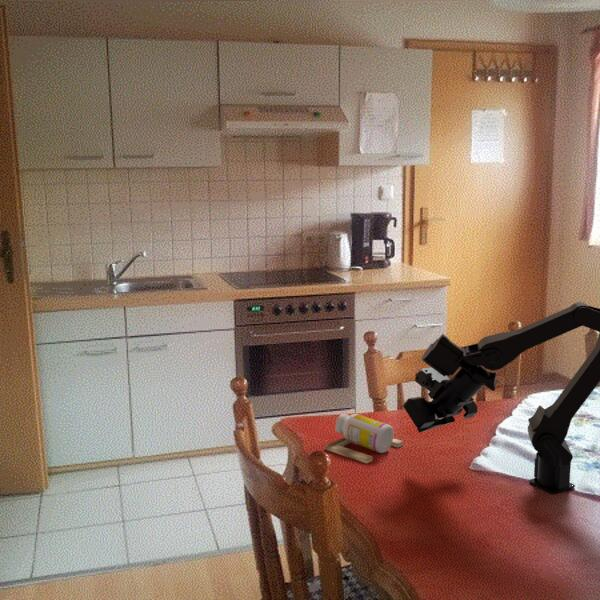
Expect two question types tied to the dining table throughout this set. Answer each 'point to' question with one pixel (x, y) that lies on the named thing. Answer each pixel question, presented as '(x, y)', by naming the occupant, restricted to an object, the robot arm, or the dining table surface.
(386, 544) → the dining table surface
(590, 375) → the robot arm
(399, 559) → the dining table surface
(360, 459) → the frame
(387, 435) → the supplement bottle
